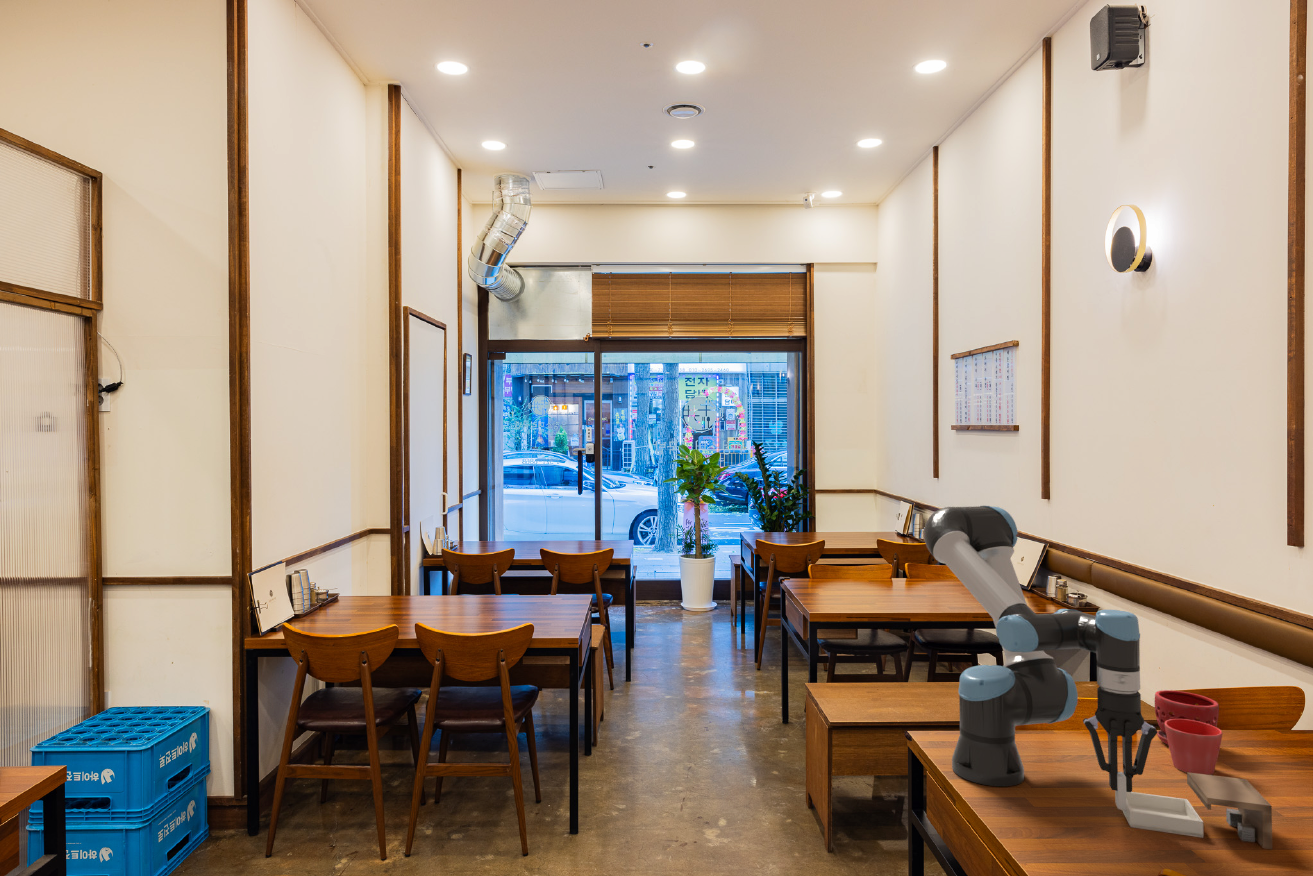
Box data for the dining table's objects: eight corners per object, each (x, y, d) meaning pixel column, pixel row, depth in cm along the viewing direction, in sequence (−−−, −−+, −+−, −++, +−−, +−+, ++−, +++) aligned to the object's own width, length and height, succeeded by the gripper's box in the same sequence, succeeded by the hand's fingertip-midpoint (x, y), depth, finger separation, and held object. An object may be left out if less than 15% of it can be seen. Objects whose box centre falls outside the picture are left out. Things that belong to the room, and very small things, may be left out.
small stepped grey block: (1242, 840, 143) (1241, 827, 143) (1226, 821, 151) (1226, 808, 151) (1254, 842, 142) (1254, 829, 142) (1238, 822, 150) (1238, 810, 150)
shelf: (1208, 840, 143) (1207, 797, 143) (1187, 811, 154) (1186, 772, 155) (1272, 849, 140) (1271, 805, 140) (1246, 819, 151) (1245, 779, 151)
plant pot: (1203, 759, 180) (1202, 709, 181) (1144, 741, 192) (1143, 694, 192) (1229, 748, 187) (1228, 700, 187) (1171, 732, 198) (1171, 685, 199)
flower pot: (1225, 782, 168) (1224, 738, 168) (1166, 772, 174) (1165, 729, 174) (1220, 766, 177) (1220, 724, 177) (1164, 756, 183) (1163, 715, 183)
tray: (1130, 827, 148) (1130, 811, 148) (1119, 804, 158) (1119, 790, 158) (1203, 837, 144) (1203, 821, 144) (1187, 814, 154) (1187, 799, 154)
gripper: (1085, 690, 152) (1087, 809, 152) (1161, 697, 148) (1163, 820, 147) (1079, 680, 159) (1081, 794, 159) (1151, 686, 155) (1153, 804, 154)
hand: (1121, 806), depth 153 cm, fingers closed
